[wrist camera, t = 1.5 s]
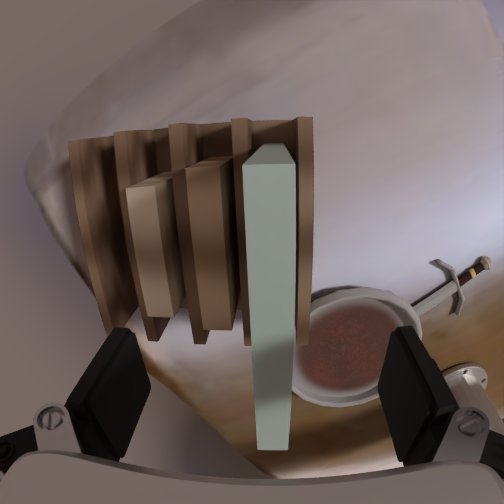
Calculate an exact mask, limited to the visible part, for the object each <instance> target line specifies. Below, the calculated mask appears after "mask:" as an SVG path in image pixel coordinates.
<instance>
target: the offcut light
mask: <svg viewBox="0 0 504 504" xmlns="http://www.w3.org/2000/svg"><path fill="white" fill-rule="evenodd" d="M126 196H127V204H128V211H129V218H130V225H131V232H132V238H133V244H134V250H135V256H136V261H137V267H138V272H139V277H140V282H141V287H142V292H143V297H144V301H145V306H146V310H147V315H148V316H149V317H169V318H174V317H175V315H176V313H177V311H178V309H179V307H180V305H181V303H182V301H183V299H184V297H185V296H186V290H185V283H184V276H183V268H182V261H181V253H180V245H179V237H178V229H177V220H176V211H175V201H174V191H173V180H172V171H171V172H163V173H160V174H158V175H156V176H153V177H151V178H148V179H146V180H144V181H141V182H139V183H137V184H134V185H132V186H130V187H128V188H126Z"/></svg>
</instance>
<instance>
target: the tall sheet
mask: <svg viewBox="0 0 504 504" xmlns="http://www.w3.org/2000/svg"><path fill="white" fill-rule="evenodd" d="M242 171H243V191H244V211H245V231H246V251H247V270H248V289H249V308H250V327H251V345H252V363H253V381H254V399H255V416H256V433H257V450H288V442H289V428H290V412H291V395H292V375H293V352H294V324H295V283H296V170H295V162H294V161H293V159H292V157H291V155H290V154H289V152H288V150H287V149H286V147H285V145H284V144H283V143H265V144H263V145H262V146H261V147H260V148H259V149H258V150H257V151H256V152H255V153H254V154H253V155H252V156H251V157H250V158H249V159H248V160H247V161H246V162H245V163H244V164H243V165H242Z"/></svg>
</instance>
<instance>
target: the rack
mask: <svg viewBox="0 0 504 504" xmlns="http://www.w3.org/2000/svg"><path fill="white" fill-rule="evenodd" d="M168 127H169V128H163V129H155V130H134V131H122V132H116V133H114V136H108V137H99V138H90V139H82V140H76V141H71V142H68V148H69V158H70V167H71V176H72V183H73V191H74V197H75V204H76V210H77V216H78V221H79V227H80V232H81V237H82V242H83V247H84V252H85V256H86V261H87V265H88V269H89V273H90V278H91V281H92V285H93V289H94V293H95V297H96V300H97V304H98V308H99V311H100V314H101V318H102V321H103V324H104V328H105V331H106V334H107V337H108V336H109V334H110V333H111V332H112V330H113V329H114V328H116V327H117V328H123V327H124V326H125V324H126V323H127V322H128V320H129V319H130V317H131V316H132V315H133V313H134V312H135V310H136V309H137V308H138V306H140V310H141V314H142V318H143V323H144V327H145V331H146V335H147V338H148V341H156V342H158V341H159V339H160V337H161V335H162V333H163V331H164V329H165V328H166V326H167V324H168V322H169V320H170V318H169V317H149V316H148V315H147V310H146V306H145V301H144V297H143V292H142V287H141V282H140V277H139V272H138V267H137V261H136V256H135V250H134V244H133V238H132V232H131V225H130V218H129V211H128V204H127V196H126V188H128V187H130V186H132V185H134V184H137V183H139V182H141V181H144V180H146V179H148V178H151V177H153V176H156V175H158V174H160V173H163V172H171V171H172V180H173V191H174V201H175V211H176V220H177V229H178V237H179V245H180V253H181V261H182V268H183V276H184V283H185V290H186V296H185V297H184V299H183V301H182V303H181V305H180V307H179V308H188V309H189V316H190V322H191V328H192V334H193V340H194V344H206V341H207V338H208V335H209V332H210V330H203V324H202V317H201V309H200V302H199V295H198V287H197V279H196V271H195V262H194V254H193V245H192V236H191V226H190V216H189V206H188V195H187V183H186V171H185V168H187V167H189V166H191V165H194V164H196V163H198V162H201V161H203V160H206V159H208V158H210V157H227V156H233V166H234V185H235V203H236V220H237V237H238V254H239V270H240V286H241V292H240V296H239V301H238V305H237V309H242V316H243V331H244V345H245V346H252V345H251V327H250V308H249V289H248V270H247V251H246V231H245V211H244V191H243V171H242V165H243V164H244V163H245V162H246V161H247V160H248V159H249V158H250V157H251V156H252V155H253V154H254V153H255V152H256V151H257V150H258V149H259V148H260V147H261V146H262V145H263V144H265V143H283V144H284V145H285V147H286V149H287V150H288V152H289V154H290V155H291V157H292V159H293V161H294V162H295V170H296V283H295V330H296V345H297V346H302V345H308V343H309V327H310V310H311V289H312V264H313V223H314V151H313V117H297V118H295V119H294V120H267V121H252V120H249V119H247V118H239V119H231V122H225V123H212V124H188V123H179V124H170V125H168Z"/></svg>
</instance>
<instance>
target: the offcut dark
mask: <svg viewBox="0 0 504 504" xmlns="http://www.w3.org/2000/svg"><path fill="white" fill-rule="evenodd" d="M185 171H186V183H187V195H188V206H189V216H190V226H191V236H192V245H193V254H194V262H195V271H196V279H197V287H198V295H199V302H200V309H201V317H202V324H203V330H232V328H233V323H234V319H235V314H236V310H237V305H238V301H239V296H240V292H241V286H240V270H239V254H238V237H237V220H236V203H235V185H234V166H233V156H227V157H210V158H208V159H206V160H203V161H201V162H198V163H196V164H194V165H191V166H189V167H187V168H185Z"/></svg>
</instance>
